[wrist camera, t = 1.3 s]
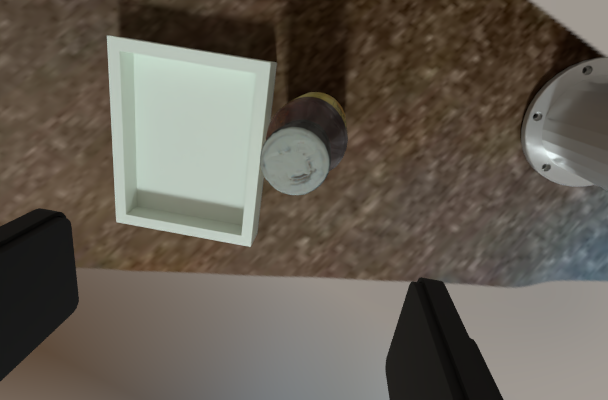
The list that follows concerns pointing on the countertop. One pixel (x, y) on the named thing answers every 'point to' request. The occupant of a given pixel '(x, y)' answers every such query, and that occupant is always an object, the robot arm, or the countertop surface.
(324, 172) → the sauce bottle
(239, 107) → the tray
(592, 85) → the robot arm
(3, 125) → the countertop surface
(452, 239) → the countertop surface
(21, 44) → the countertop surface
